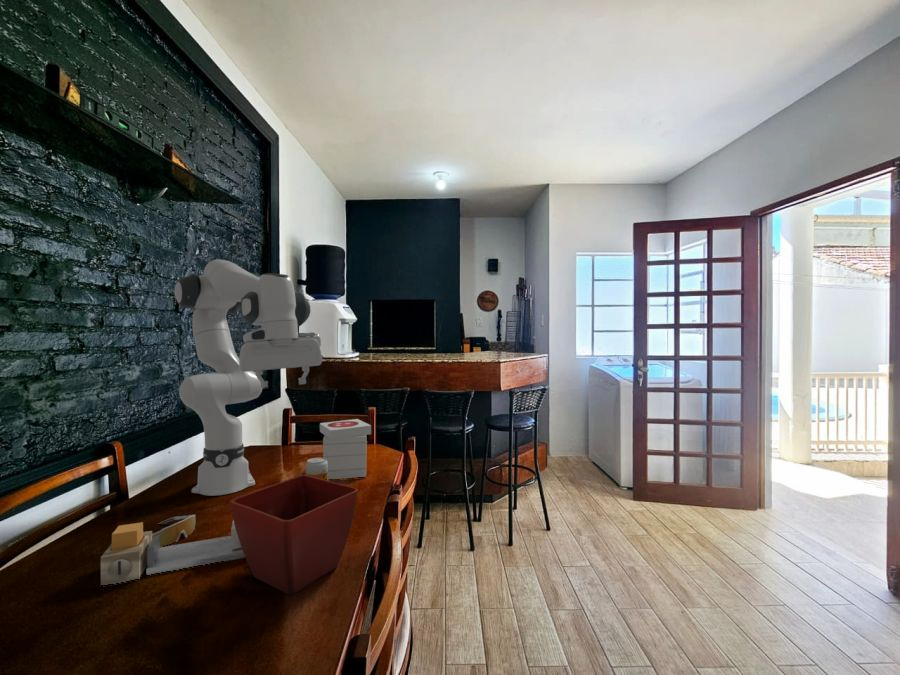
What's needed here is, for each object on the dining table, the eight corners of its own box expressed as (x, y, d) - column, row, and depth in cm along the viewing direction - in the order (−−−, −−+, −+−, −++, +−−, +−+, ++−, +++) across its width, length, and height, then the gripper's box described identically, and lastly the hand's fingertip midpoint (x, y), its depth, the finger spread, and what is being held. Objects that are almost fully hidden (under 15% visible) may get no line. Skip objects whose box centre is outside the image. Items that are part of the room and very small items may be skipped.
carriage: (233, 537, 102) (233, 500, 102) (265, 532, 105) (265, 496, 105) (231, 551, 96) (230, 511, 96) (264, 545, 99) (264, 506, 99)
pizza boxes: (371, 455, 179) (370, 413, 179) (371, 479, 149) (371, 428, 149) (324, 458, 175) (324, 415, 175) (315, 483, 146) (315, 431, 146)
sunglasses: (156, 555, 98) (154, 533, 98) (111, 555, 102) (108, 534, 103) (207, 528, 112) (205, 509, 112) (165, 529, 116) (163, 511, 116)
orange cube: (119, 541, 92) (118, 525, 92) (143, 537, 94) (143, 522, 94) (111, 550, 88) (111, 534, 88) (137, 546, 90) (137, 530, 90)
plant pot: (286, 612, 77) (286, 520, 77) (227, 580, 87) (227, 500, 87) (360, 564, 93) (360, 488, 93) (303, 542, 104) (303, 474, 104)
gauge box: (117, 562, 95) (117, 536, 95) (152, 556, 97) (152, 530, 97) (99, 588, 85) (99, 558, 85) (138, 581, 87) (138, 552, 87)
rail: (156, 557, 97) (156, 533, 97) (274, 537, 106) (273, 515, 106) (146, 576, 89) (146, 550, 89) (274, 552, 99) (273, 528, 99)
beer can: (321, 516, 118) (321, 463, 118) (301, 515, 119) (301, 462, 119) (331, 508, 124) (331, 457, 124) (313, 506, 125) (312, 456, 125)
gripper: (316, 333, 119) (320, 382, 118) (236, 336, 108) (239, 390, 107) (323, 330, 114) (327, 381, 113) (239, 334, 102) (243, 390, 102)
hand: (284, 386), depth 110 cm, fingers open, 8 cm apart
